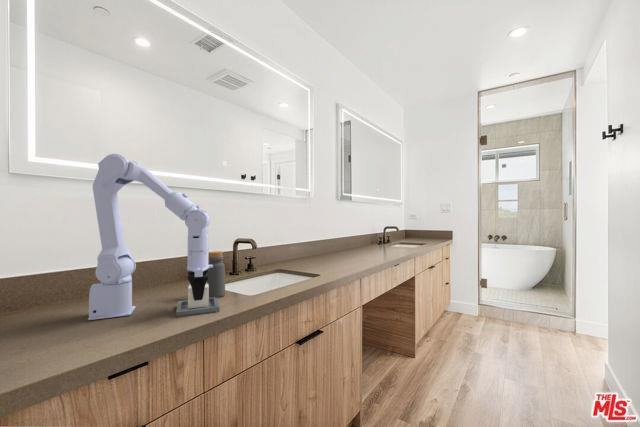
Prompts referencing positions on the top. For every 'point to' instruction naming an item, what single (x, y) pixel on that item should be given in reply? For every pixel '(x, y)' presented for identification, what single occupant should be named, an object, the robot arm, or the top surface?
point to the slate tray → (185, 311)
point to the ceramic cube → (198, 303)
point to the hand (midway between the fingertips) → (198, 297)
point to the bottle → (216, 274)
